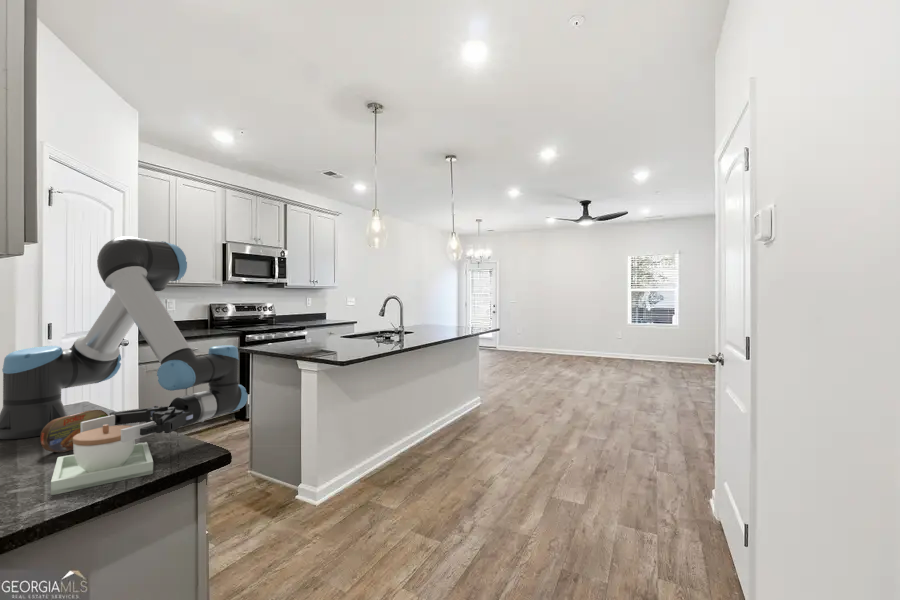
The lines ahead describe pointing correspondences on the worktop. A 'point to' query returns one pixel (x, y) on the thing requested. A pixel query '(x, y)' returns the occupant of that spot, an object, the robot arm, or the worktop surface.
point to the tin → (66, 430)
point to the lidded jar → (101, 448)
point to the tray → (76, 478)
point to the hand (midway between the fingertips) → (100, 432)
